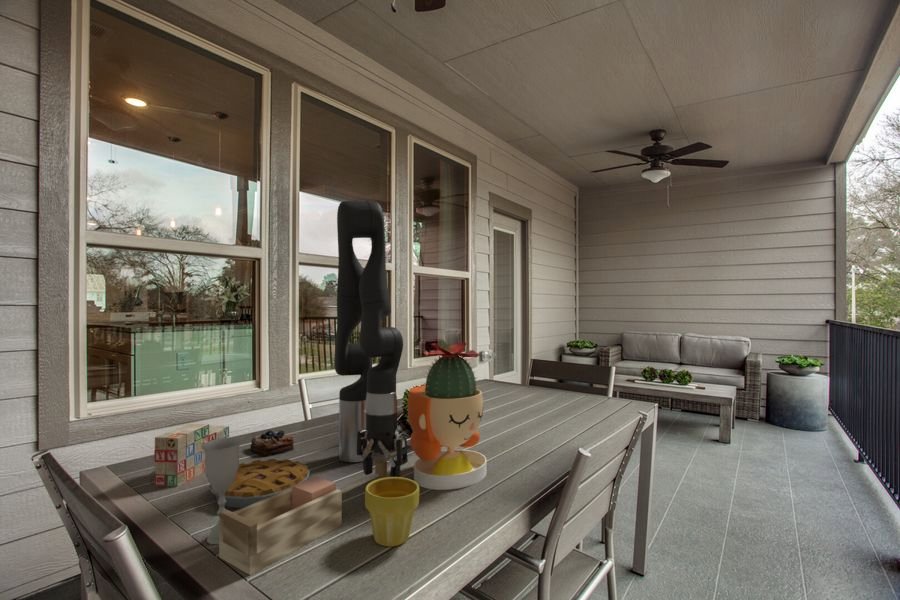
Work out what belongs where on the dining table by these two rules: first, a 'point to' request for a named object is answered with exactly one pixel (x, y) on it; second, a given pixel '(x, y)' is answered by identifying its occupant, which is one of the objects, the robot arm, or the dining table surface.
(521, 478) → the dining table surface
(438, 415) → the potted cactus
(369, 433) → the robot arm
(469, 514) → the dining table surface
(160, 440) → the stack of blocks
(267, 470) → the pie
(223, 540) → the light wooden box
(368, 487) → the plant pot
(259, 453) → the pastry
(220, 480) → the chalice
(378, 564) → the dining table surface
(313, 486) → the pull block
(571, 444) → the dining table surface
